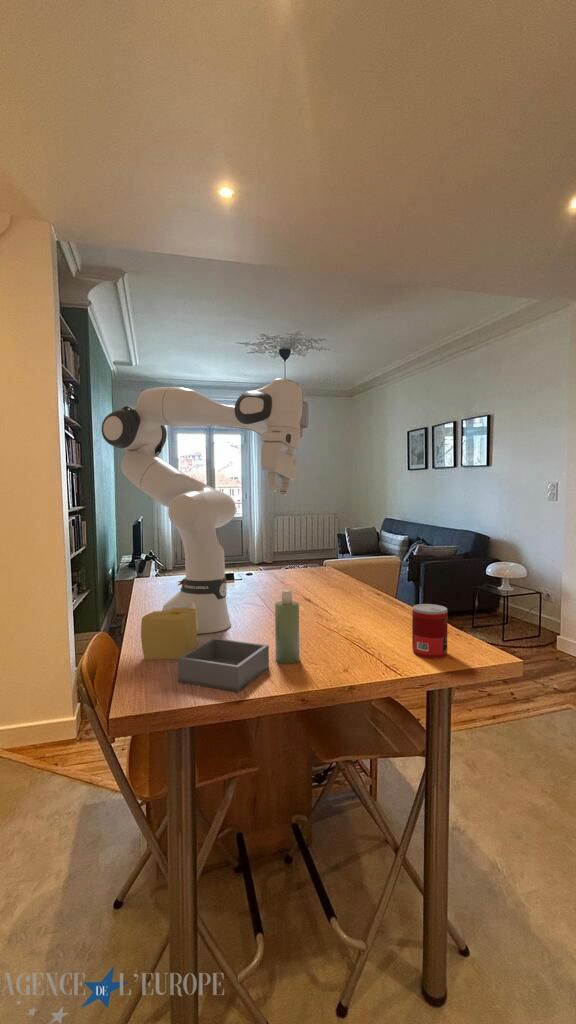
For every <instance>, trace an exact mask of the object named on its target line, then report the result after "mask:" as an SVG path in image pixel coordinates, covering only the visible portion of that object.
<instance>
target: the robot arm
mask: <svg viewBox="0 0 576 1024" xmlns="http://www.w3.org/2000/svg"><path fill="white" fill-rule="evenodd" d="M303 400H304V399H303V390H302V387H301V386H300V385H299V384H298V383H297V382H295V381H293V380H291V379H289V378H275V379H274V380H272V381H271V382H270V383H269V384H267V385H265V386H264V387H262V388H258V389H255V390H248V391H245V392H242V394H240V395H239V397H237V399H236V400H235V401H236V402H235V404H234V405H228V404H227V405H226V404H223V403H220V402H217V401H215V400H213V399H211V398H209V397H208V396H206V395H204V394H202V393H201V392H198V391H197V390H194V389H190V388H186V387H179V386H160V387H159V386H158V387H154V388H153V387H152V388H147V389H145V390H143V391H142V392H141V393H140V394H139V396H138V398H137V403H136V405H135V407H132V406H130V405H126V406H123V407H122V408H120V409H118V410H115V411H112V412H110V413H109V414H107V415H106V416H105V417H104V419H103V420H102V423H101V434H102V437H103V439H104V441H105V442H106V443H107V444H109V445H110V446H112V447H114V448H118V449H124V450H125V454H124V456H123V457H122V460H121V463H120V469H121V472H122V474H123V475H124V476H125V477H126V478H127V479H128V480H129V481H130V482H131V484H133V485H134V486H135V487H136V488H138V489H139V490H140V491H141V492H142V493H145V494H146V495H148V496H149V497H150V498H151V499H153V500H154V501H156V502H157V503H159V504H160V505H162V506H164V507H167V508H168V509H167V513H168V518H169V520H170V522H171V524H172V525H173V527H175V528H176V529H177V531H178V534H179V536H180V539H181V542H182V544H183V545H182V546H183V551H184V559H185V560H184V562H185V563H184V564H185V565H184V567H185V577H184V578H183V579H181V580H179V581H177V583H178V584H177V586H181V587H180V591H178V592H177V593H176V594H175V595H174V596H172V598H170V599H169V600H167V601H166V602H165V603H164V604H163V605H162V609H161V611H165V610H168V609H171V608H190V609H196V631H197V635H199V634H210V633H218V632H221V631H224V630H227V629H229V628H230V627H231V626H232V621H231V619H230V615H229V611H228V605H227V598H226V597H227V593H228V592H227V577H226V572H225V569H226V568H225V567H226V566H225V563H226V562H225V549H224V548H223V546H222V545H221V544H220V542H219V539H218V536H217V531H216V529H217V528H218V529H219V528H221V527H223V526H225V525H227V524H228V523H230V522H231V521H232V520H233V519H234V517H235V515H236V512H237V511H236V510H237V507H236V504H235V501H234V499H233V497H231V496H230V495H229V494H226V493H224V492H222V491H220V490H217V489H216V488H214V487H212V486H210V485H208V484H206V483H204V482H202V481H200V480H198V479H195V478H194V477H191V476H189V475H187V474H185V473H184V472H182V471H181V470H179V469H177V468H176V467H175V466H173V465H171V464H170V463H168V462H167V461H166V460H164V459H162V458H161V457H159V455H160V454H161V453H162V450H163V448H164V446H165V443H166V441H167V434H168V433H167V429H166V426H169V427H170V426H171V427H221V428H222V427H223V428H224V427H225V428H233V429H241V430H248V431H252V432H254V433H256V434H258V435H259V436H260V441H261V442H262V444H261V451H260V453H261V455H260V465H261V469H262V471H265V472H266V473H267V479H268V481H267V482H268V491H270V492H272V493H273V492H274V493H276V492H277V491H278V483H277V481H278V480H277V478H279V479H281V487H280V488H279V495H281V496H287V495H288V493H289V492H288V491H289V488H290V485H291V481H296V478H297V475H298V474H297V473H298V472H297V471H298V456H297V455H298V454H297V453H296V452H295V451H297V450H299V449H300V440H301V425H300V423H301V418H302V417H303V403H304V402H303Z"/></svg>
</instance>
